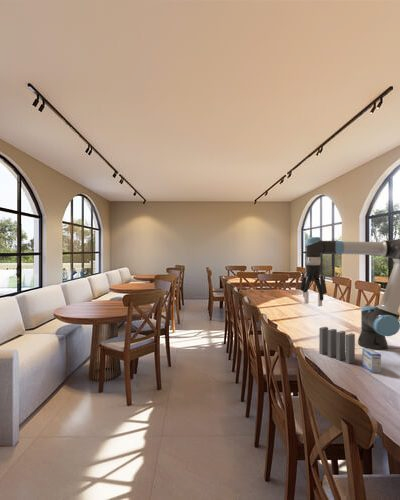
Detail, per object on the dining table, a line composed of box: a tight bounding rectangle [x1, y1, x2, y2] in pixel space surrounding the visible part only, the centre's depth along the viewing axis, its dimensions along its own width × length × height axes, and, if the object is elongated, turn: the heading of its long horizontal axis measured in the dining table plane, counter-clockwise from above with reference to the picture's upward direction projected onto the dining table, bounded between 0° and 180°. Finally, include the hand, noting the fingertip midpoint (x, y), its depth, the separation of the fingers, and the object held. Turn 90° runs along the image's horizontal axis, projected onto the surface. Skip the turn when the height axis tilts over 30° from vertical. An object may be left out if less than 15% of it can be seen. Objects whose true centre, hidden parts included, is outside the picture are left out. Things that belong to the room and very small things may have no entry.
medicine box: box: [361, 348, 382, 374], centre depth 142 cm, size 8×4×9 cm, turn 2°
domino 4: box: [345, 332, 356, 364], centre depth 150 cm, size 5×2×14 cm, turn 122°
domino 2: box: [327, 328, 338, 358], centre depth 159 cm, size 5×2×14 cm, turn 122°
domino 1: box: [318, 326, 329, 355], centre depth 163 cm, size 5×2×14 cm, turn 122°
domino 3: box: [335, 330, 346, 361], centre depth 155 cm, size 5×2×14 cm, turn 122°
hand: (313, 304), depth 169 cm, fingers open, 8 cm apart
